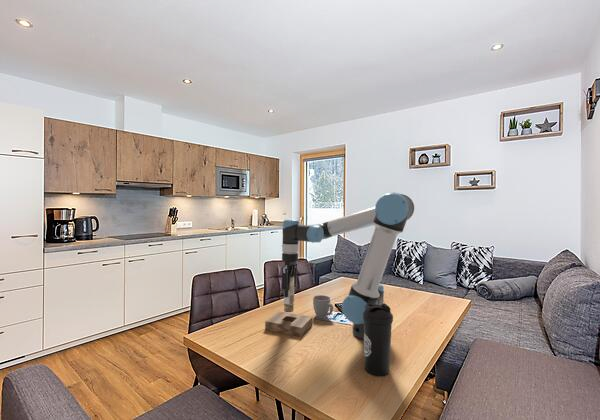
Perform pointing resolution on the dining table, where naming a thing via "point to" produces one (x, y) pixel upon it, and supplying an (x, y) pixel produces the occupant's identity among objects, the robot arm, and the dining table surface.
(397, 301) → the dining table surface
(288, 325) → the board
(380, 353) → the water bottle
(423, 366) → the dining table surface
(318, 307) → the mug
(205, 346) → the dining table surface
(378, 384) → the dining table surface
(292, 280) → the peg
